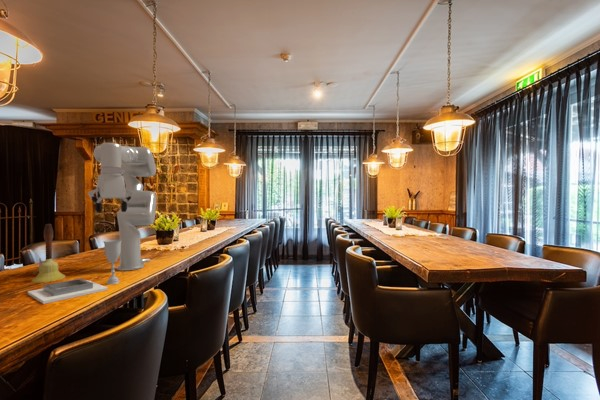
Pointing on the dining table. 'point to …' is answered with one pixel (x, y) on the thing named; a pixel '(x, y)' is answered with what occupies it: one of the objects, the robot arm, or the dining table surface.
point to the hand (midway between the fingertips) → (111, 212)
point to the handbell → (48, 261)
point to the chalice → (112, 257)
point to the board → (48, 298)
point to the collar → (54, 290)
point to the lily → (39, 263)
